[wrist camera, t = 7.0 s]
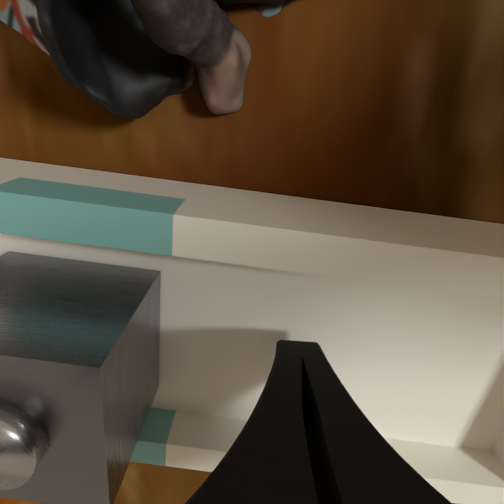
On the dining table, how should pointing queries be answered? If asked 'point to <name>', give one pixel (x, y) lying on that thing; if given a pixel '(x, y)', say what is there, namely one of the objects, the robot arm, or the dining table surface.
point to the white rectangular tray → (293, 309)
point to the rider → (73, 375)
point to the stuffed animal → (141, 48)
